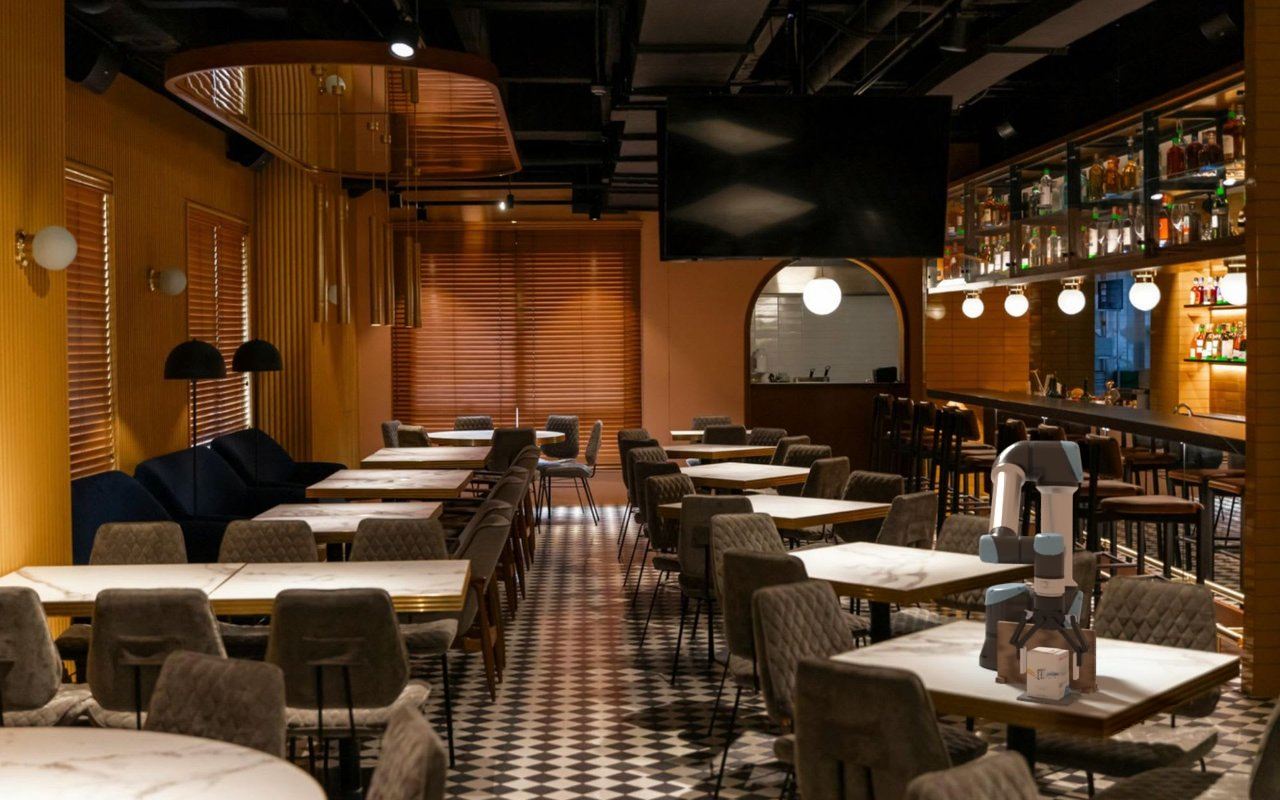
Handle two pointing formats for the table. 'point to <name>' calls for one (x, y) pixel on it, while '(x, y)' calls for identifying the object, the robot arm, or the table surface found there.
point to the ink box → (1048, 673)
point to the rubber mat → (1063, 701)
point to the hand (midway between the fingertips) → (1049, 675)
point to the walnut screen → (1049, 639)
